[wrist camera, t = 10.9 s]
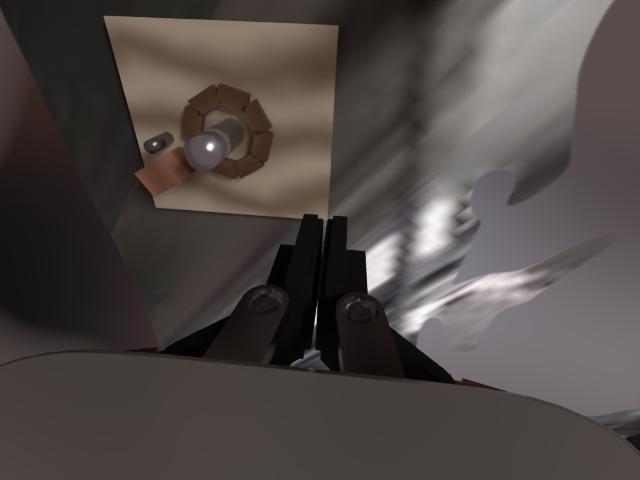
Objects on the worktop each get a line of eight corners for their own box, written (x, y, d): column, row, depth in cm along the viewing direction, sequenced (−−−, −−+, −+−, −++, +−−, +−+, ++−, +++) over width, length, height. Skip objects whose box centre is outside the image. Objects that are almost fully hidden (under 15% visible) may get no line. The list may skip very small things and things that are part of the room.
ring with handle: (239, 67, 30) (224, 71, 27) (288, 152, 34) (280, 164, 31) (135, 137, 35) (112, 147, 32) (188, 204, 39) (173, 219, 36)
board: (111, 16, 30) (103, 15, 29) (338, 25, 29) (338, 25, 28) (160, 203, 41) (155, 207, 40) (327, 216, 40) (327, 220, 39)
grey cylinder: (156, 113, 34) (107, 131, 27) (243, 118, 33) (215, 138, 27) (163, 143, 36) (119, 168, 29) (245, 149, 35) (220, 175, 28)
